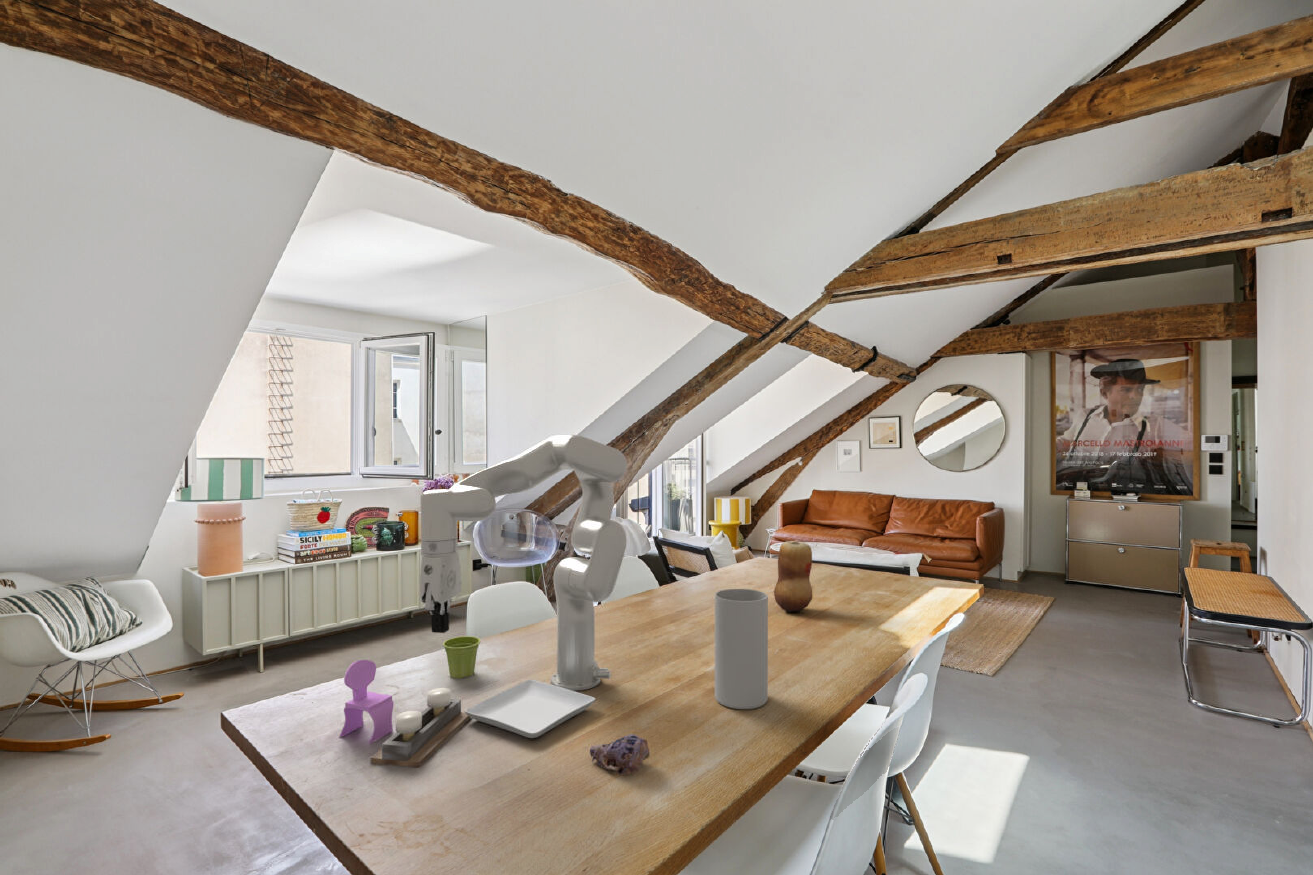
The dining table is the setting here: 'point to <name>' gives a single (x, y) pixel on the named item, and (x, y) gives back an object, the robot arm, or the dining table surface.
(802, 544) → the butternut squash
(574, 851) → the dining table surface
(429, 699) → the plunger far
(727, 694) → the cylinder vase
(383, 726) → the toy chair
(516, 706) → the salad plate
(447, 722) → the mount
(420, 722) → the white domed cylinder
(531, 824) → the dining table surface
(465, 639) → the plant pot
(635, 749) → the grey-brown rounded lump
